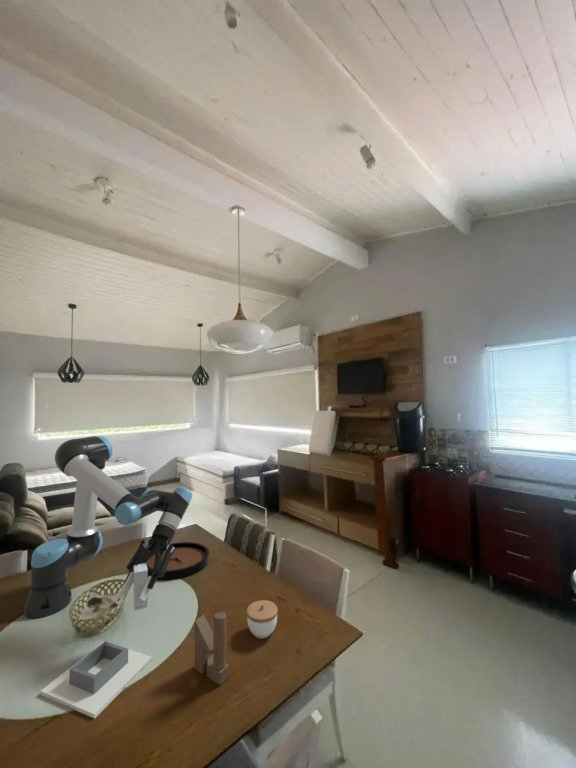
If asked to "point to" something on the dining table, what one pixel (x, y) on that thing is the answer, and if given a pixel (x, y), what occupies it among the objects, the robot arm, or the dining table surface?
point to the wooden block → (211, 648)
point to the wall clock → (182, 561)
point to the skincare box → (140, 585)
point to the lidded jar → (262, 618)
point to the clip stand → (96, 678)
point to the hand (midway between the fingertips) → (132, 596)
